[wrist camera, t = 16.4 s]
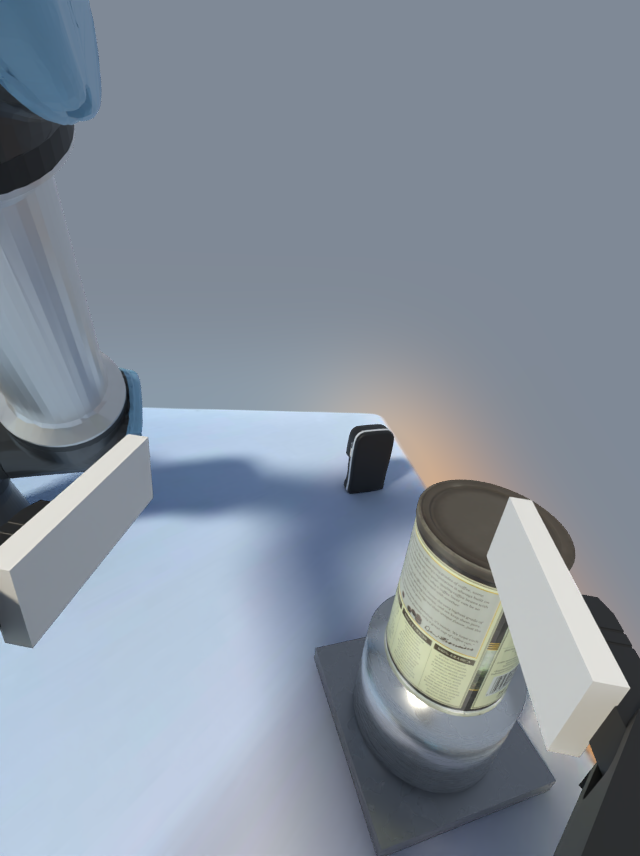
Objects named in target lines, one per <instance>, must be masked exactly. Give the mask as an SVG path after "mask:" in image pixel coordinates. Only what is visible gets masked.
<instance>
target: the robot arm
mask: <svg viewBox="0 0 640 856" xmlns="http://www.w3.org/2000/svg"><path fill="white" fill-rule="evenodd" d="M100 104H101V77H100V68H99V56H98V48H97V42H96V35H95V28H94V22H93V17H92V13H91V9H90V3H89V0H0V630H1V632H2V635H3V638H4V641H5V643H9V644H14V645H19V646H24V647H29V648H33V647H34V646H35V645H36V644H37V642H38V641H39V640H40V639H41V637H42V636H43V635H44V634H45V632H46V631H47V630H48V629H49V627H50V626H51V625H52V624H53V622H54V621H55V620H56V619H57V617H58V616H59V615H60V614H61V612H62V611H63V610H64V609H65V607H66V606H67V605H68V604H69V602H70V601H71V600H72V599H73V597H74V596H75V595H76V594H77V592H78V591H79V590H80V589H81V587H82V586H83V585H84V584H85V582H86V581H87V580H88V579H89V577H90V576H91V575H92V574H93V572H94V571H95V570H96V569H97V567H98V566H99V565H100V564H101V562H102V561H103V560H104V559H105V557H106V556H107V555H108V554H109V552H110V551H111V550H112V549H113V547H114V546H115V545H116V544H117V542H118V541H119V540H120V539H121V537H122V536H123V535H124V534H125V532H126V531H127V530H128V529H129V527H130V526H131V525H132V524H133V522H134V521H135V520H136V519H137V517H138V516H139V515H140V514H141V512H142V511H143V510H144V509H145V507H146V506H147V505H148V504H149V502H150V501H151V500H152V499H153V489H152V477H151V465H150V453H149V441H148V437H144V436H142V434H141V432H142V424H143V418H142V394H141V385H140V380H139V377H138V375H137V373H136V372H135V371H132V370H126V369H123V368H118V366H117V365H116V364H115V363H114V362H113V361H112V360H111V359H110V358H109V357H108V356H106V355H105V354H104V353H102V352H101V351H100V349H99V345H98V342H97V338H96V334H95V331H94V326H93V323H92V319H91V315H90V311H89V308H88V304H87V300H86V296H85V292H84V289H83V285H82V281H81V277H80V274H79V270H78V266H77V262H76V258H75V255H74V251H73V247H72V243H71V239H70V236H69V232H68V228H67V224H66V221H65V217H64V213H63V210H62V205H61V202H60V198H59V194H58V190H57V187H56V183H55V179H54V175H55V174H56V173H57V172H58V170H59V169H60V168H61V167H62V166H63V165H64V163H65V162H66V160H67V159H68V158H69V155H70V153H71V151H72V148H73V145H74V139H75V125H74V124H75V123H77V122H79V121H87V120H90V119H92V118H94V117H95V115H96V114H97V112H98V111H99V108H100ZM75 472H84V473H83V474H82V475H81V476H80V477H78V478H77V479H76V480H75V481H74V482H73V483H72V484H70V485H69V486H68V487H67V488H66V489H65V490H64V491H62V492H61V493H60V494H59V495H58V496H57V497H56V498H54V499H53V500H52V501H51V502H50V501H44V500H40V501H38V502H36V503H34V504H32V505H30V504H29V503H28V501H27V500H26V499H25V498H24V496H23V495H22V494H21V493H20V492H19V490H18V489H17V488H16V487H15V486H14V484H13V483H12V482H11V480H10V478H20V477H31V476H42V475H53V474H64V473H75ZM487 559H488V562H489V565H490V568H491V572H492V575H493V578H494V581H495V585H496V588H497V591H498V594H499V597H500V601H501V604H502V607H503V610H504V614H505V617H506V620H507V623H508V627H509V630H510V633H511V636H512V640H513V643H514V646H515V649H516V653H517V656H518V659H519V662H520V666H521V669H522V672H523V675H524V679H525V682H526V685H527V688H528V692H529V695H530V698H531V701H532V704H533V708H534V711H535V714H536V717H537V721H538V724H539V727H540V730H541V734H542V737H543V740H544V743H545V747H546V750H547V751H549V752H554V753H559V754H565V755H570V756H575V757H580V756H581V755H582V753H583V752H584V750H585V749H586V748H587V746H588V745H589V744H590V745H591V748H592V751H593V753H594V756H595V758H596V761H597V763H596V764H595V765H594V767H593V768H592V769H591V770H590V772H589V773H588V774H587V775H586V777H585V778H584V779H583V781H582V782H581V783H580V784H579V786H580V787H581V788H582V789H583V790H582V792H581V794H580V796H579V799H578V801H577V803H576V805H575V808H574V810H573V812H572V814H571V817H570V819H569V821H568V824H567V826H566V828H565V830H564V833H563V835H562V837H561V839H560V842H559V844H558V846H557V848H556V851H555V853H554V855H553V856H640V658H639V657H638V655H637V653H636V651H635V650H634V649H632V645H631V643H630V641H629V639H628V638H627V636H626V635H625V634H624V633H623V632H624V631H623V629H622V627H621V626H620V624H619V622H618V620H617V619H616V617H615V615H614V614H613V613H612V612H611V611H610V610H609V608H607V606H606V605H605V604H604V603H603V602H602V601H600V599H599V598H598V597H593V596H587V595H581V593H580V591H579V589H578V588H577V586H576V584H575V582H574V580H573V578H572V576H571V575H570V572H569V570H568V568H567V567H566V565H565V563H564V561H563V559H562V557H561V555H560V553H559V551H558V549H557V547H556V546H555V544H554V542H553V540H552V538H551V536H550V534H549V532H548V530H547V528H546V527H545V525H544V523H543V521H542V519H541V517H540V515H539V513H538V511H537V509H536V507H535V506H534V504H533V502H532V501H531V500H526V499H520V498H514V497H509V499H508V502H507V505H506V507H505V510H504V512H503V515H502V517H501V520H500V523H499V525H498V528H497V530H496V533H495V535H494V538H493V540H492V543H491V546H490V548H489V551H488V553H487Z"/></svg>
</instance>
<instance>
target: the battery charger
mask: <svg viewBox="0 0 640 856" xmlns="http://www.w3.org/2000/svg"><path fill="white" fill-rule="evenodd" d="M393 442H394V436H393V433H392V432H391V431H390V430H389V429H387V428H386V427H385V426H384V425H381V424H375V425H363V426H356V427H354V428H353V429H352V430H351V432H350V435H349V440H348V445H347V451H346V453H347V455H348V456H349V463H348V472H347V477H346V479H345V481H344V486H345V488H346V491H347V492H349V493H358V492H366V491H372V490H378V489H382V488H383V485H384V480H385V476H386V472H387V468H388V464H389V461H390V457H391V452H392V447H393Z"/></svg>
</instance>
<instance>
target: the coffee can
mask: <svg viewBox="0 0 640 856" xmlns="http://www.w3.org/2000/svg"><path fill="white" fill-rule="evenodd" d="M509 497H514V498H520V499H526V500H530V499H528V498H526V497H524V496H522V495H520V494H518V493H515V492H513V491H511V490H508V489H506V488H503V487H500V486H497V485H493V484H490V483H485V482H480V481H473V480H449V481H444V482H439V483H436V484H434V485H432V486H430V487H429V488H427V489H426V490H425V491H424V492H423V493H422V494H421V496H420V498H419V501H418V504H417V509H416V519H415V522H414V526H413V530H412V534H411V538H410V541H409V545H408V549H407V553H406V557H405V560H404V564H403V568H402V572H401V576H400V579H399V583H398V587H397V591H396V595H395V599H394V602H393V606H392V610H391V614H390V618H389V621H388V623H387V626H386V629H385V634H384V647H385V652H386V656H387V659H388V662H389V665H390V667H391V669H392V670H393V672H394V673H395V675H396V677H397V678H398V680H399V681H400V682H401V684H402V685H403V686H404V687H405V688H406V689H407V690H408V691H409V692H410V693H411V694H412V695H414V696H415V697H416V698H417V699H419V700H420V701H422V702H423V703H425V704H426V705H428V706H429V707H431V708H434V709H436V710H439V711H441V712H443V713H447V714H450V715H454V716H462V717H471V716H478V715H482V714H484V713H486V712H488V711H490V710H492V709H493V708H495V707H496V706H497V705H498V704H499V703H500V702H501V700H502V699H503V697H504V695H505V693H506V691H507V688H508V685H509V683H510V681H511V679H512V677H513V675H514V673H515V671H516V669H517V668H518V666H519V664H520V662H519V659H518V656H517V653H516V649H515V646H514V643H513V640H512V636H511V633H510V630H509V627H508V623H507V620H506V617H505V614H504V610H503V607H502V604H501V601H500V597H499V594H498V591H497V588H496V585H495V581H494V578H493V575H492V572H491V568H490V565H489V562H488V559H487V553H488V551H489V548H490V546H491V543H492V540H493V538H494V535H495V533H496V530H497V528H498V525H499V523H500V520H501V517H502V515H503V512H504V510H505V507H506V505H507V502H508V499H509ZM532 502H533V501H532ZM533 504H534V506H535V507H536V509H537V511H538V513H539V515H540V517H541V519H542V521H543V523H544V525H545V527H546V528H547V530H548V532H549V534H550V536H551V538H552V540H553V542H554V544H555V546H556V547H557V549H558V551H559V553H560V555H561V557H562V559H563V561H564V563H565V565H566V567H567V568H568V570H570V569H571V567H572V566H573V563H574V560H575V548H574V545H573V542H572V539H571V537H570V535H569V534H568V532H567V531H566V529H565V528H564V527H563V526H562V524H561V523H560V522H559V521H558V520H557V519H556V518H555V517H554V516H552V515H551V514H550V513H549V512H548V511H546V510H545V509H544V508H542V507H541V506H539V505H538V504H536V503H535V502H533Z"/></svg>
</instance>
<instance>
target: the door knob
mask: <svg viewBox="0 0 640 856" xmlns="http://www.w3.org/2000/svg"><path fill="white" fill-rule="evenodd" d="M394 599H395V595H394V596H392V597H391V598H389V599H387V600H386V601H385V602H383V603H382V604H381V605H380V606H379V608H378V609H377V610H376V611H375V613H374V615H373V616H372V619H371V621H370V624H369V628H368V632H367V637H364V638H359V639H355V640H350V641H346V642H341V643H337V644H332V645H328V646H323V647H319V648H316V649H315V655H314V659H315V662H316V665H317V668H318V671H319V675H320V678H321V681H322V684H323V687H324V690H325V694H326V697H327V700H328V703H329V706H330V709H331V713H332V716H333V719H334V722H335V725H336V728H337V731H338V735H339V738H340V741H341V744H342V747H343V750H344V754H345V757H346V760H347V763H348V766H349V769H350V773H351V776H352V779H353V782H354V785H355V788H356V791H357V795H358V798H359V801H360V804H361V807H362V810H363V814H364V817H365V820H366V823H367V826H368V829H369V832H370V836H371V839H372V842H373V845H374V848H375V851H376V855H377V856H387V855H389V854H392V853H394V852H397V851H399V850H402V849H404V848H407V847H409V846H412V845H414V844H417V843H419V842H422V841H424V840H427V839H429V838H432V837H434V836H436V835H439V834H441V833H444V832H446V831H449V830H451V829H454V828H456V827H459V826H461V825H464V824H466V823H469V822H471V821H474V820H476V819H479V818H481V817H483V816H486V815H488V814H491V813H493V812H496V811H498V810H501V809H503V808H506V807H508V806H511V805H513V804H516V803H518V802H521V801H523V800H526V799H528V798H531V797H533V796H535V795H538V794H540V793H543V792H545V791H548V790H550V788H551V787H552V785H553V784H554V783H555V781H556V780H555V779H554V777H553V776H552V774H551V773H550V771H549V770H548V768H547V767H546V765H545V764H544V762H543V761H542V759H541V758H540V756H539V755H538V753H537V752H536V750H535V749H534V747H533V745H532V744H531V742H530V741H529V739H528V738H527V736H526V735H525V733H524V732H523V730H522V729H521V727H520V726H519V724H518V723H517V721H516V720H517V718H518V716H519V714H520V713H521V711H522V708H523V706H524V703H525V698H526V682H525V679H524V675H523V672H522V669H521V666H520V664H519V666H518V668H517V669H516V671H515V673H514V675H513V677H512V679H511V681H510V683H509V685H508V688H507V691H506V693H505V695H504V697H503V699H502V700H501V702H500V703H499V704H498V705H497V706H496V707H495V708H493V709H492V710H490V711H488V712H486V713H484V714H482V715H478V716H471V717H462V716H454V715H450V714H447V713H443V712H441V711H439V710H436V709H434V708H431V707H429V706H428V705H426V704H425V703H423V702H422V701H420V700H419V699H417V698H416V697H415V696H414V695H412V694H411V693H410V692H409V691H408V690H407V689H406V688H405V687H404V686H403V685H402V684H401V682H400V681H399V680H398V678H397V677H396V675H395V673H394V672H393V670H392V669H391V667H390V665H389V662H388V659H387V656H386V652H385V647H384V634H385V629H386V626H387V623H388V621H389V618H390V614H391V610H392V606H393V602H394Z"/></svg>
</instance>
